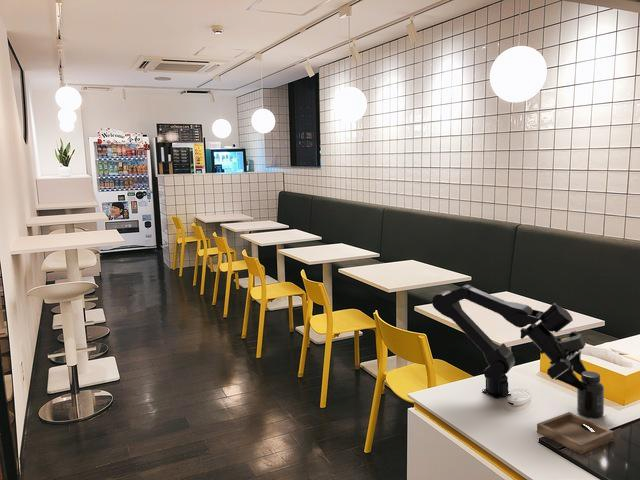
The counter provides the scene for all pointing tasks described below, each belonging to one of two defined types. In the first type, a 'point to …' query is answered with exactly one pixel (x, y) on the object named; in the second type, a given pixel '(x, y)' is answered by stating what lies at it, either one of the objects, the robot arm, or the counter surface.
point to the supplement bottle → (590, 396)
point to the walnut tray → (574, 432)
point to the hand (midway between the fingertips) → (586, 383)
